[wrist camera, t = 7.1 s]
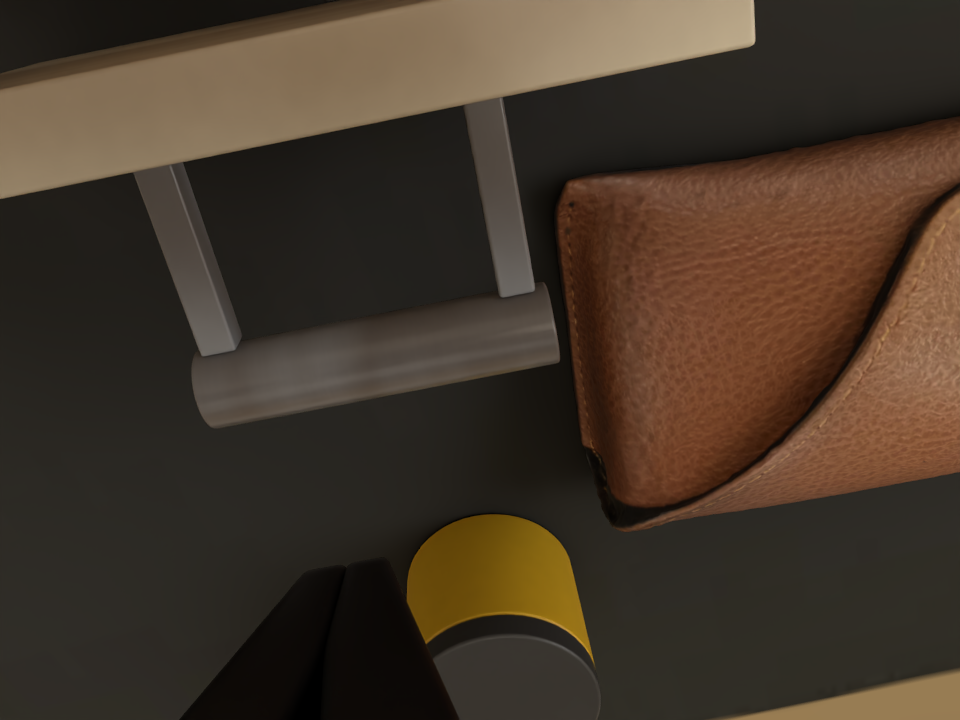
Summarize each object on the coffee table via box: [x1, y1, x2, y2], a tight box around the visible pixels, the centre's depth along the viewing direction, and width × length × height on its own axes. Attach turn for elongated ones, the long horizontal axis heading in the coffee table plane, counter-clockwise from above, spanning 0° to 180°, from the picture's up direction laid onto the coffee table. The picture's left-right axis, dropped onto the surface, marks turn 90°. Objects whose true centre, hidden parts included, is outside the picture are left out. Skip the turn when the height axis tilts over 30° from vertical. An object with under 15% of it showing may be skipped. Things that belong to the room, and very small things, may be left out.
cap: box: [407, 514, 601, 720], centre depth 21 cm, size 5×5×4 cm
